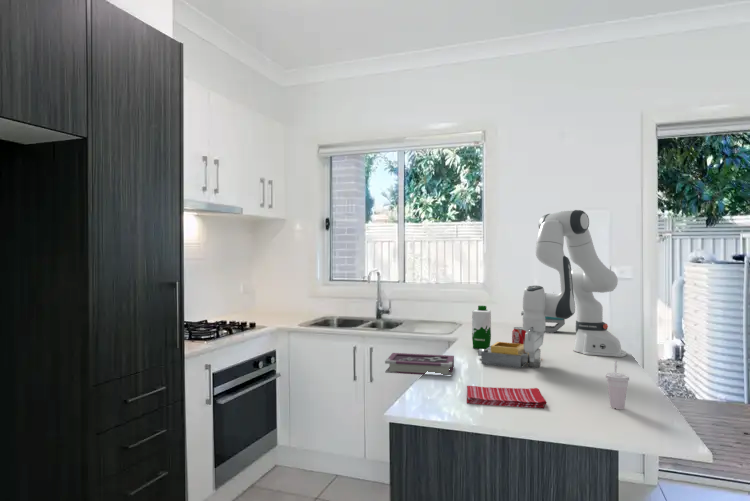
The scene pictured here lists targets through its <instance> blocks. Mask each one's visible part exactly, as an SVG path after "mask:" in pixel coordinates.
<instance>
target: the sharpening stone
mask: <svg viewBox="0 0 750 501" xmlns="http://www.w3.org/2000/svg"><path fill="white" fill-rule="evenodd" d="M520 314H521V316H523V315H524V310H522V311H521V313H520ZM545 323H551V324H555V325H546V327H545V331H544V333H545V332H555V333H556V332H557V331H559V329H561V328H562V327H563V326H565V323H566V319H561V318H557V317H547V316H545Z"/></svg>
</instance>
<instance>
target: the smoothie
mask: <svg viewBox="0 0 750 501" xmlns="http://www.w3.org/2000/svg"><path fill="white" fill-rule="evenodd" d="M617 362H618V361H617V360H614V372H607V373H605V379H606V382H607V390H608V396H609V397H608V398H609V406H611V407H612V408H611V407H610V408H611V409H613V408H616V409H615V410H618V409H623V410H625V406H626V399H627V398H626V397H627V391H628V385H629V381H630V376H629V375H628V374H624V373H620V372H618V371H617V369H618V368H617V367H618V364H617Z"/></svg>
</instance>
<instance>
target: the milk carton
mask: <svg viewBox="0 0 750 501" xmlns="http://www.w3.org/2000/svg"><path fill="white" fill-rule="evenodd" d="M471 317H472V318H471V319H472V320H471V340H472V349H478V350H479V349H487V348H488V347H490V346H491V342H492V311H491V309H487V305H478V306H477V309H474V310H472V316H471Z"/></svg>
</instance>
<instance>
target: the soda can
mask: <svg viewBox="0 0 750 501" xmlns="http://www.w3.org/2000/svg"><path fill="white" fill-rule="evenodd" d="M525 334H526V331H525V330H523V326H515V327H513V330H512V333H511V335H512V336H511V337H512V338H511V343H517V344H524V347H525Z"/></svg>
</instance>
